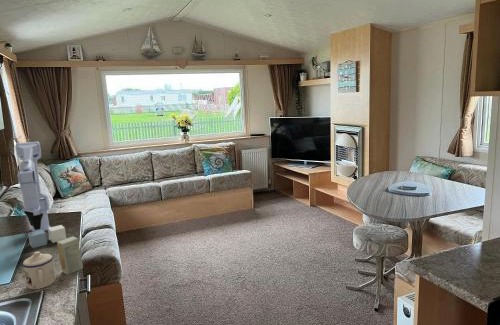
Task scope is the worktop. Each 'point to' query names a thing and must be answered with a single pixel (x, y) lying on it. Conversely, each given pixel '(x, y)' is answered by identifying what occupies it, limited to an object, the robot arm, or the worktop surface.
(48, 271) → the teacup with lid
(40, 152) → the robot arm
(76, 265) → the skincare box
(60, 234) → the cover
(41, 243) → the cover
